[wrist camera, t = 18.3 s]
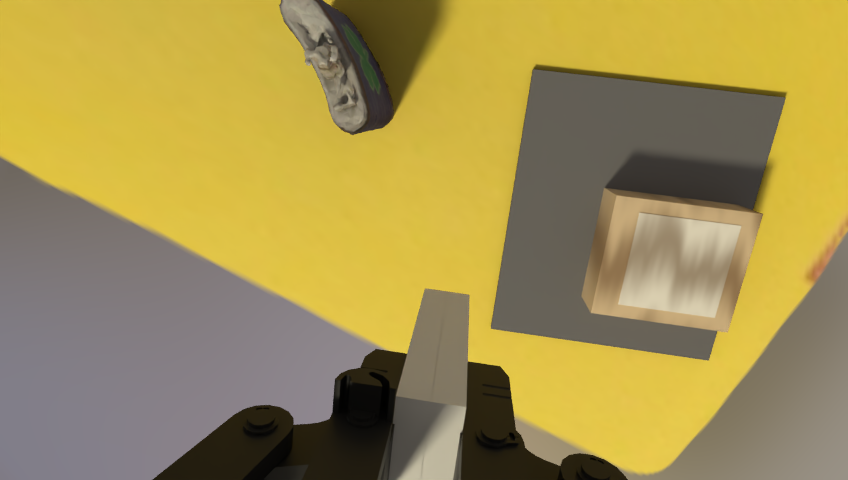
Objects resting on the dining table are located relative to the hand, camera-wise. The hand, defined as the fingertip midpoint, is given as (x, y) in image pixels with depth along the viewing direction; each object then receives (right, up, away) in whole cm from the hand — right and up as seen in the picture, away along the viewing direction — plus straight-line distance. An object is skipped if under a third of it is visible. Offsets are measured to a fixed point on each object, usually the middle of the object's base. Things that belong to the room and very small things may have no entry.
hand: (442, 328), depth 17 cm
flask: (-6, +16, +22) cm, 28 cm away
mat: (+15, +4, +23) cm, 28 cm away
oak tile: (+13, +2, +21) cm, 25 cm away
